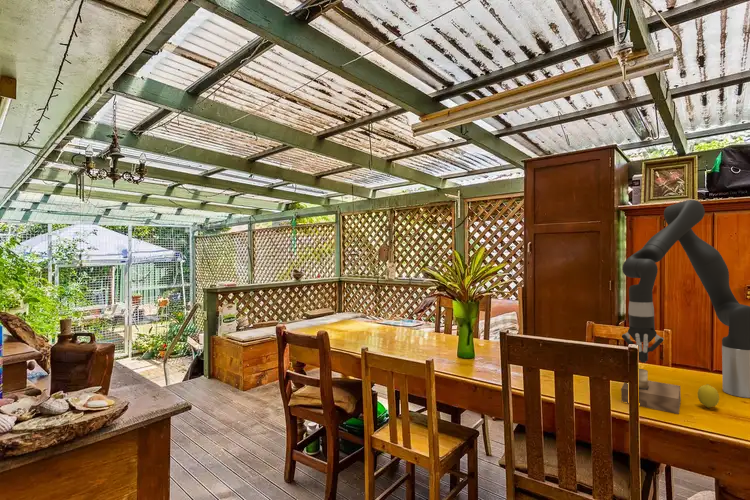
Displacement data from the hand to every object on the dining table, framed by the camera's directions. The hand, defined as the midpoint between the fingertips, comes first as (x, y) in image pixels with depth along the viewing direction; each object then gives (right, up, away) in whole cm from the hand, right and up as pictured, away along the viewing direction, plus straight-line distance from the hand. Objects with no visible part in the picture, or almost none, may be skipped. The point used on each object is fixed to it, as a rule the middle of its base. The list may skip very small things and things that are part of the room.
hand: (643, 362), depth 139 cm
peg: (-1, -14, -1) cm, 14 cm away
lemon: (+17, -14, -8) cm, 23 cm away
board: (+2, -14, -1) cm, 14 cm away
